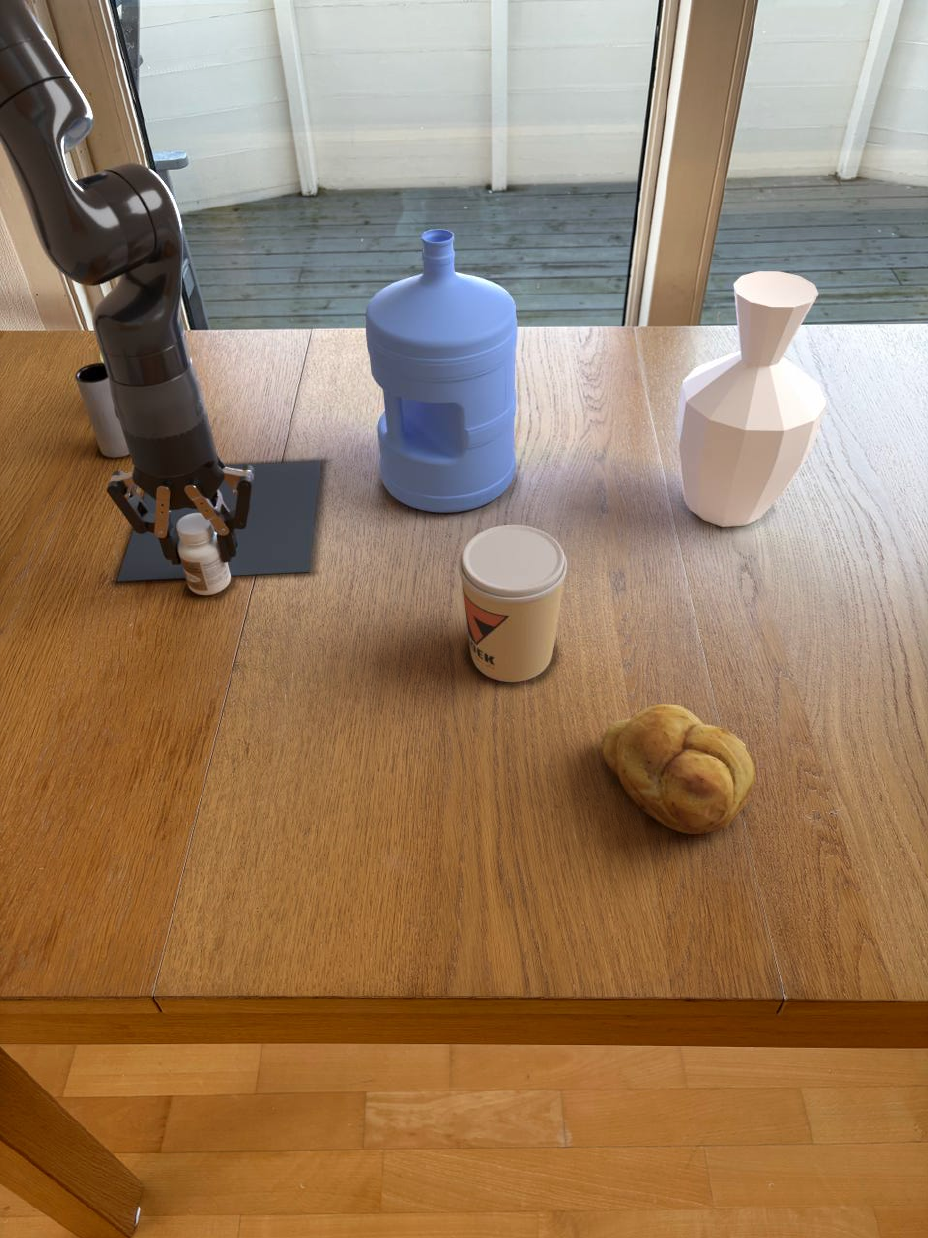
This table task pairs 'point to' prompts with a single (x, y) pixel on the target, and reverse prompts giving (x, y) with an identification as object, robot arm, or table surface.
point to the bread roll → (680, 768)
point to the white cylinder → (101, 409)
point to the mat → (247, 527)
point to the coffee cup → (512, 600)
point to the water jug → (444, 383)
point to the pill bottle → (201, 555)
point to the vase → (750, 407)
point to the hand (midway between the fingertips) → (203, 557)
